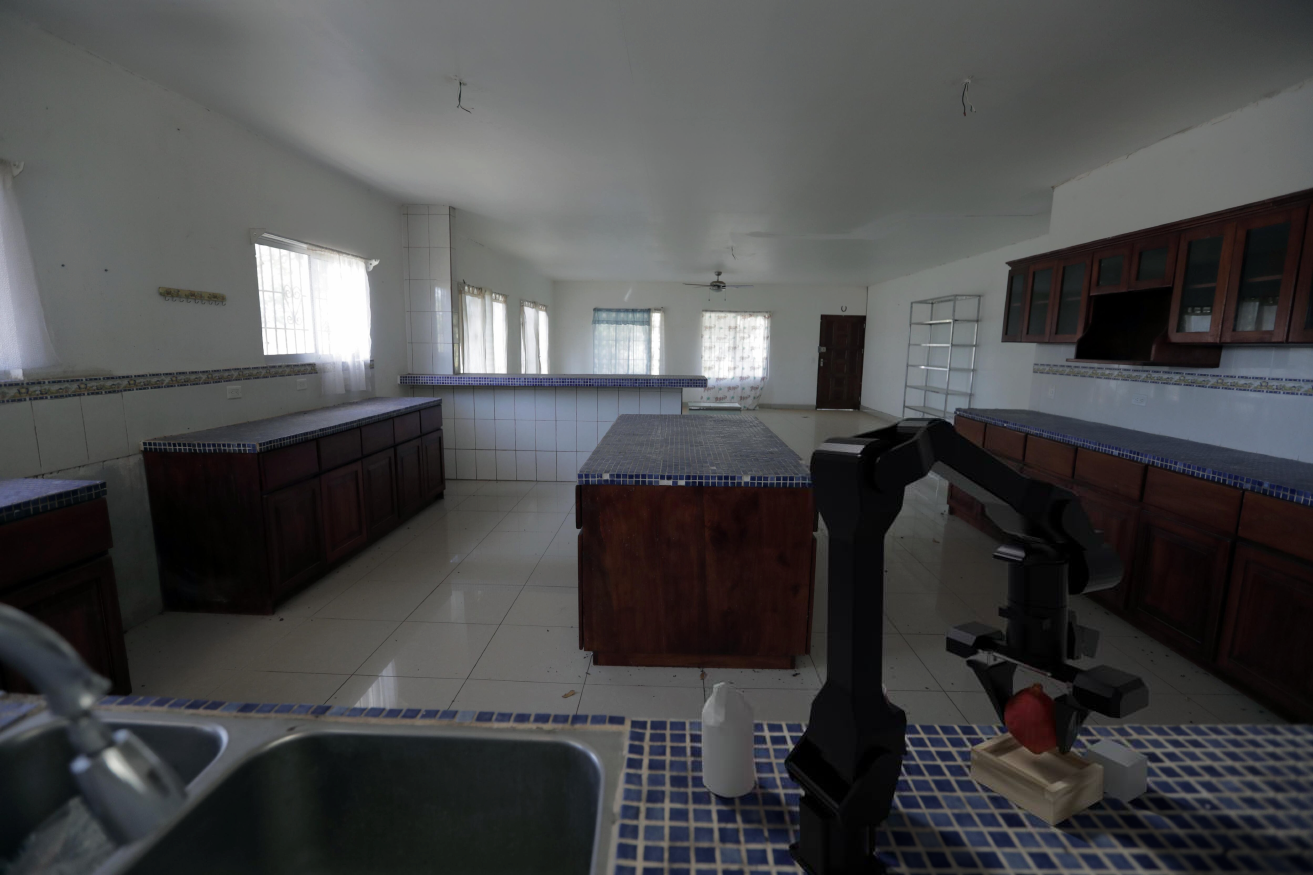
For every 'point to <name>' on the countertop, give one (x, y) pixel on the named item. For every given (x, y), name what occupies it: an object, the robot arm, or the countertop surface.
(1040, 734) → the red pomegranate
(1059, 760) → the square tray
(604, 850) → the countertop surface
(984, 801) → the countertop surface
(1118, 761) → the grey cube
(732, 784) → the white plastic bottle
